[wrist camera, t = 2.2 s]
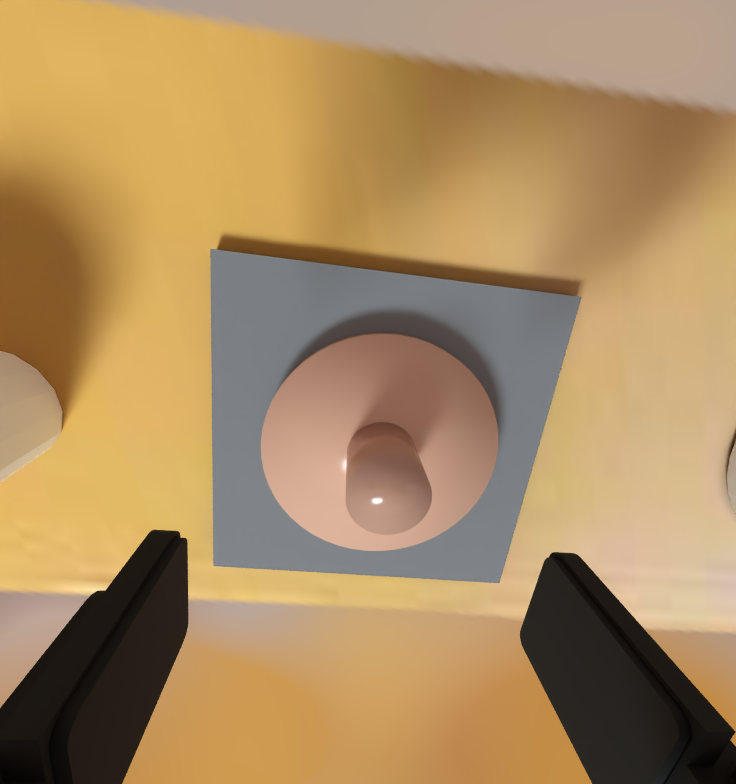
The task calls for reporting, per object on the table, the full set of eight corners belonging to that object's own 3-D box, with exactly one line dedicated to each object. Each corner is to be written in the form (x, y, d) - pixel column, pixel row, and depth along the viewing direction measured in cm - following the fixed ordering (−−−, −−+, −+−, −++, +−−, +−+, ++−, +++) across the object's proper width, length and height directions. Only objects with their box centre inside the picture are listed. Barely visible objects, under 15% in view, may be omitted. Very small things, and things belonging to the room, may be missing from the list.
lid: (530, 459, 18) (587, 515, 13) (360, 570, 19) (362, 652, 15) (405, 279, 15) (426, 278, 11) (217, 428, 16) (169, 479, 12)
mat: (573, 296, 16) (581, 296, 15) (495, 574, 21) (499, 583, 20) (215, 250, 15) (210, 248, 14) (217, 557, 19) (213, 565, 19)
